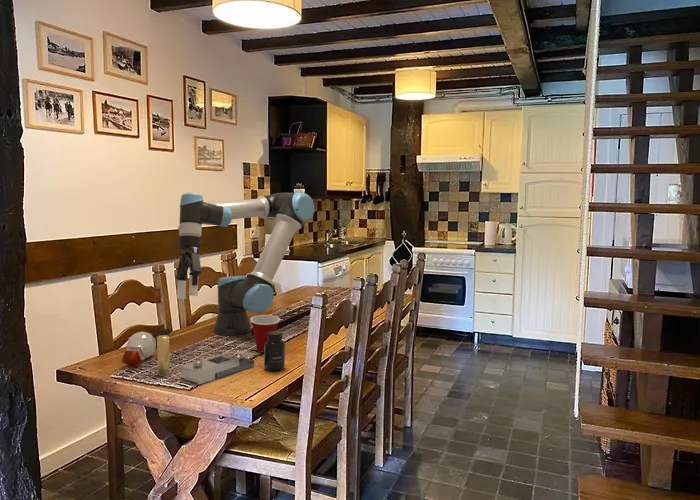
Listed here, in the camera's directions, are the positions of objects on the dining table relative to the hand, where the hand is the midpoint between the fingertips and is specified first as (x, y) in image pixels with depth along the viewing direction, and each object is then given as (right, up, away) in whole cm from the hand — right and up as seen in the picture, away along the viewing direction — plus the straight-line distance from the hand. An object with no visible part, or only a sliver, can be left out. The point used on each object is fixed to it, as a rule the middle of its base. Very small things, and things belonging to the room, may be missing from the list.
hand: (187, 297), depth 174 cm
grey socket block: (+12, -23, -14) cm, 29 cm away
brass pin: (-3, -23, -14) cm, 27 cm away
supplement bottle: (+31, -23, -6) cm, 39 cm away
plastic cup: (+25, -21, +13) cm, 35 cm away
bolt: (-17, -20, +21) cm, 33 cm away
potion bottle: (-15, -22, -2) cm, 27 cm away
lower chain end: (+16, -23, -9) cm, 29 cm away
